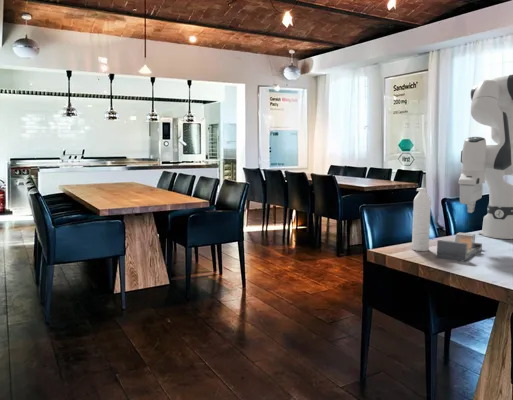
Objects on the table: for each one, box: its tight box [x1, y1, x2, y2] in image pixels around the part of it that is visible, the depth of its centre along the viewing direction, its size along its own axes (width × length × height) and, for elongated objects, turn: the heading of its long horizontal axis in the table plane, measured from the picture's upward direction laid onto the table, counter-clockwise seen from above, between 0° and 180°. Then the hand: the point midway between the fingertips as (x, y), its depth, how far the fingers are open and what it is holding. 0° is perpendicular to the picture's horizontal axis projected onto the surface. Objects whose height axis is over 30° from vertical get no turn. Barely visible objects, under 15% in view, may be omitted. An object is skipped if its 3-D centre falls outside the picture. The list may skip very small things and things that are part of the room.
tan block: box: [454, 232, 476, 249], centre depth 181 cm, size 5×6×5 cm
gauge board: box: [436, 239, 483, 262], centre depth 177 cm, size 24×10×6 cm, turn 141°
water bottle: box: [411, 187, 432, 252], centre depth 180 cm, size 9×6×25 cm
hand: (470, 212), depth 184 cm, fingers closed
